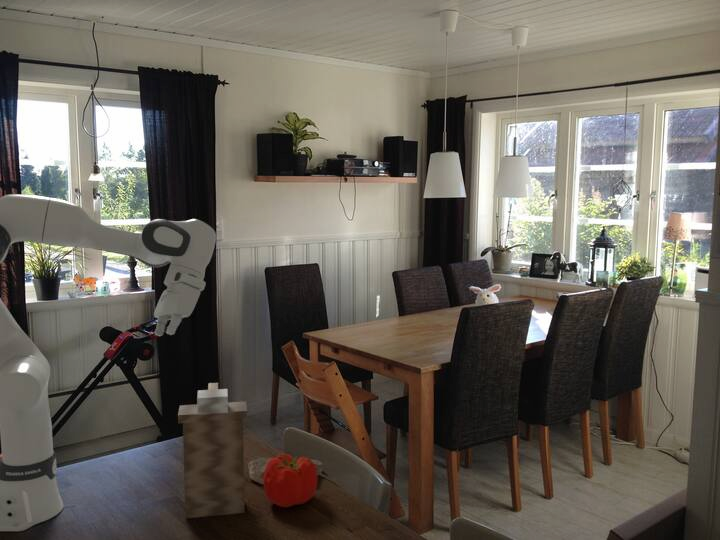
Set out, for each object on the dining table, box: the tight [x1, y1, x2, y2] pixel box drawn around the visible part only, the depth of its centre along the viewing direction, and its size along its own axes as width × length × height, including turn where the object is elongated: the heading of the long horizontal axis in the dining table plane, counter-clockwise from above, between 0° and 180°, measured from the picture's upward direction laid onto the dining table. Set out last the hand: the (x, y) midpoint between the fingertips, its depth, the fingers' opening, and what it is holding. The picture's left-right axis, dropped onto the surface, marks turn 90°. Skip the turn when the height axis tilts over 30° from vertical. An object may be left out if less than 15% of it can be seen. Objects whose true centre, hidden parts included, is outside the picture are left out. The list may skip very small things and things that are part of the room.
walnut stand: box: [177, 401, 248, 519], centre depth 161 cm, size 16×7×26 cm, turn 102°
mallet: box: [196, 382, 229, 415], centre depth 163 cm, size 7×16×4 cm, turn 12°
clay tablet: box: [247, 457, 324, 486], centre depth 182 cm, size 14×5×20 cm
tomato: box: [262, 453, 318, 508], centre depth 167 cm, size 13×14×12 cm
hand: (163, 334), depth 161 cm, fingers open, 8 cm apart
